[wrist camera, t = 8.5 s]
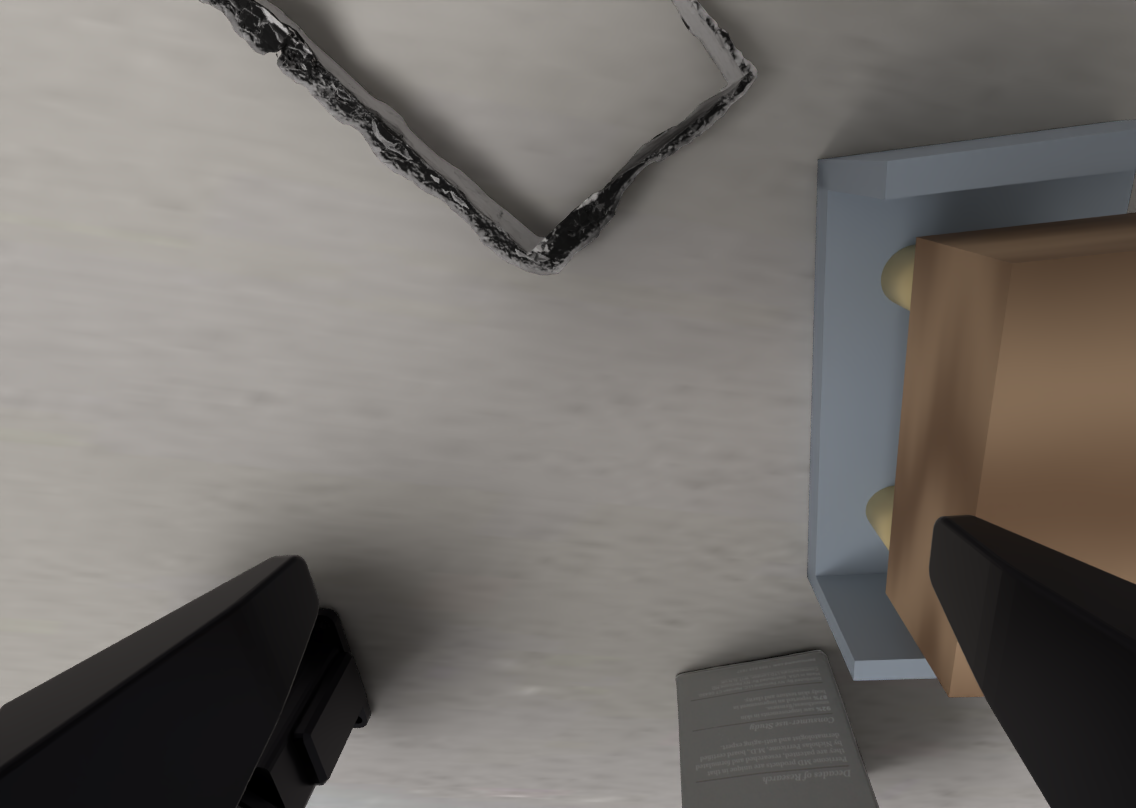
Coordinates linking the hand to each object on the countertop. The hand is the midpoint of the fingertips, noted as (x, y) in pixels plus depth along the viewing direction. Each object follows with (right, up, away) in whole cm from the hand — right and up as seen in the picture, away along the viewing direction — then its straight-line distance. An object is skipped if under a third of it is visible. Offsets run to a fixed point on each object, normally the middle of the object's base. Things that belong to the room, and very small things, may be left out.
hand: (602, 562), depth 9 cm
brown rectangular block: (+11, +2, +8) cm, 14 cm away
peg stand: (+12, +3, +11) cm, 17 cm away
